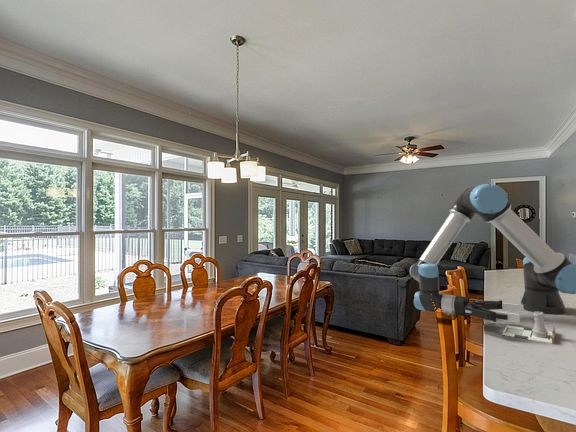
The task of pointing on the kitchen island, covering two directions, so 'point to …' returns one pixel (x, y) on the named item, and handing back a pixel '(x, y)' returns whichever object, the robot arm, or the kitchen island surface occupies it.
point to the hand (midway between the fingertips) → (521, 313)
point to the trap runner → (527, 335)
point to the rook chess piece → (539, 325)
